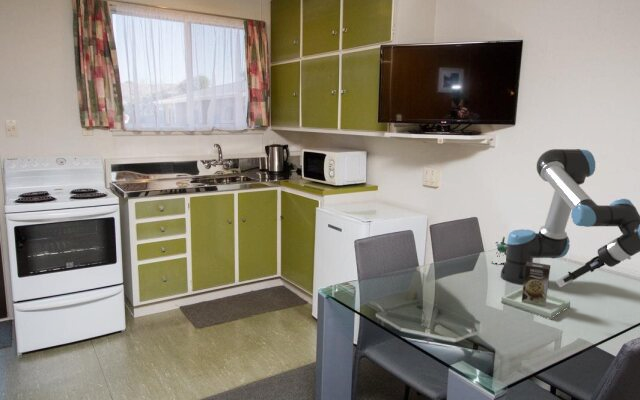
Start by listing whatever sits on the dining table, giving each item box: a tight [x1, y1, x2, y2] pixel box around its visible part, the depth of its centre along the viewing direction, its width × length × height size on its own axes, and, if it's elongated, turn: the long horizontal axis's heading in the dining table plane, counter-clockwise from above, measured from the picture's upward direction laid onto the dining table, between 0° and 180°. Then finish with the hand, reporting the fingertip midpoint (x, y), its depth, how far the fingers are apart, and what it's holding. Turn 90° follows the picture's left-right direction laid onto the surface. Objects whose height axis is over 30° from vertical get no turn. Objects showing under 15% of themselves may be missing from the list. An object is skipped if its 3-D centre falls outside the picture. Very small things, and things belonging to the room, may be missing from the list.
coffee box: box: [521, 261, 551, 307], centre depth 189 cm, size 9×6×16 cm
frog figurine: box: [495, 236, 507, 257], centre depth 244 cm, size 10×18×15 cm, turn 126°
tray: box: [500, 286, 571, 320], centre depth 190 cm, size 20×18×2 cm
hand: (565, 280), depth 180 cm, fingers open, 13 cm apart
